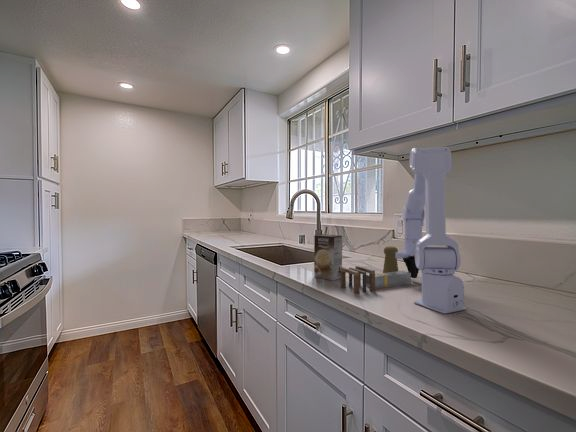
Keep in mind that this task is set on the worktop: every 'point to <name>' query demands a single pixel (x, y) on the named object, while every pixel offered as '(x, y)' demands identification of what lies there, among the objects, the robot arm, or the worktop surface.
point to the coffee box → (327, 256)
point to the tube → (390, 279)
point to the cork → (390, 259)
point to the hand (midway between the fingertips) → (413, 277)
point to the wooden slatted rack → (357, 278)
